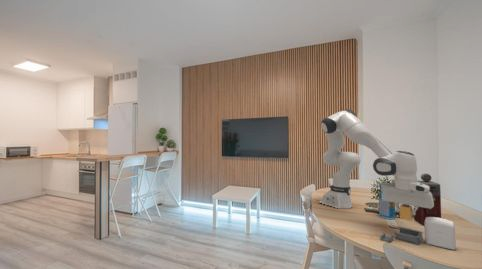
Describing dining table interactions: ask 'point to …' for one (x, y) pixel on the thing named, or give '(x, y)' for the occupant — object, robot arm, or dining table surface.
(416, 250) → the dining table surface
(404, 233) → the end holder
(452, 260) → the dining table surface
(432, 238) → the photo printer
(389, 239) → the clip
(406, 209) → the block
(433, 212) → the dark red decanter
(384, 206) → the beverage bottle
